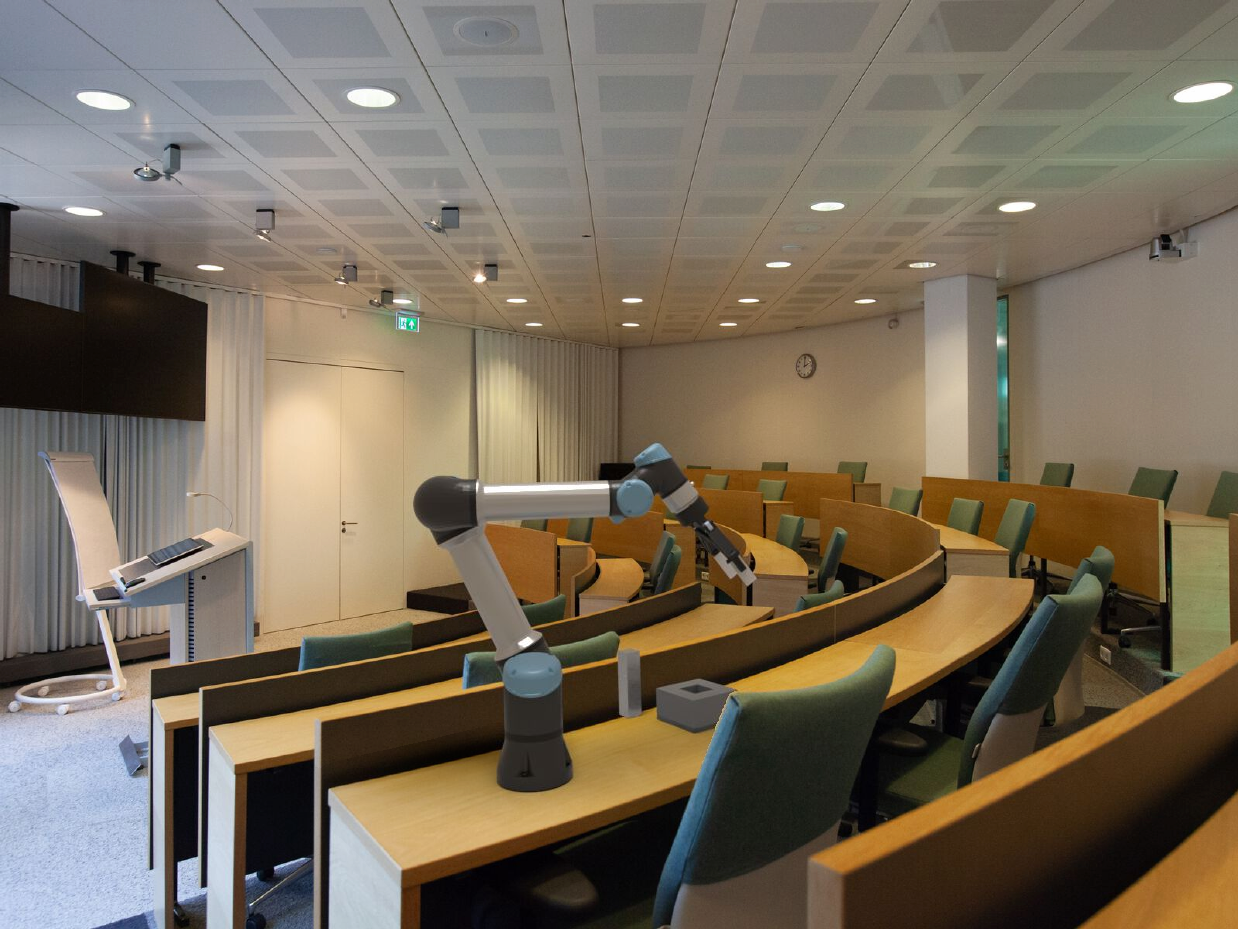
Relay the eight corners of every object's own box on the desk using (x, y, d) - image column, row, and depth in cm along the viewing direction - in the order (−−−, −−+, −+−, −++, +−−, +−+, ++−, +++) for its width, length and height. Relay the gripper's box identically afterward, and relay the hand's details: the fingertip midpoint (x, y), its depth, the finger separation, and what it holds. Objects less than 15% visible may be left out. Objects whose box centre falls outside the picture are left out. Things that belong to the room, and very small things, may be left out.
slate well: (694, 733, 171) (693, 700, 171) (657, 719, 183) (656, 688, 183) (738, 721, 179) (737, 689, 179) (700, 708, 191) (699, 678, 191)
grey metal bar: (628, 718, 184) (626, 653, 184) (619, 714, 187) (617, 650, 188) (641, 715, 186) (639, 651, 187) (632, 711, 189) (630, 648, 190)
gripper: (712, 494, 156) (773, 574, 156) (687, 494, 180) (740, 563, 181) (685, 516, 155) (746, 596, 155) (663, 513, 179) (716, 582, 180)
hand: (743, 578), depth 168 cm, fingers open, 13 cm apart
